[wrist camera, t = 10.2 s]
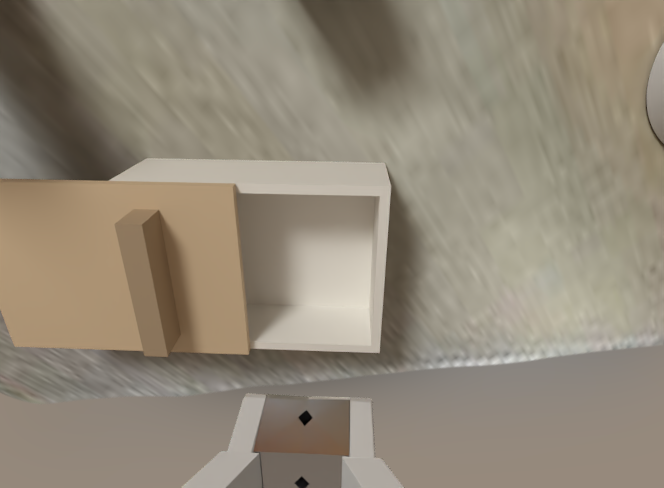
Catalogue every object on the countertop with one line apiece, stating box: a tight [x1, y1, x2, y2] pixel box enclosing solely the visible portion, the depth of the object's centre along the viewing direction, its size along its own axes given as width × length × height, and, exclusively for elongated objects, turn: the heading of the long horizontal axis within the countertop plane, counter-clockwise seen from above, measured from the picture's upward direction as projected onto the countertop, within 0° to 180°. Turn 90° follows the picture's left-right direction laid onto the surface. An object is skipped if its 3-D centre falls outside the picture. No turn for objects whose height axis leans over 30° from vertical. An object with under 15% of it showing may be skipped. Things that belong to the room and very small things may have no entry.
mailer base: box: [109, 158, 391, 353], centre depth 40 cm, size 22×16×7 cm
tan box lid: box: [0, 179, 251, 357], centre depth 35 cm, size 22×16×4 cm
